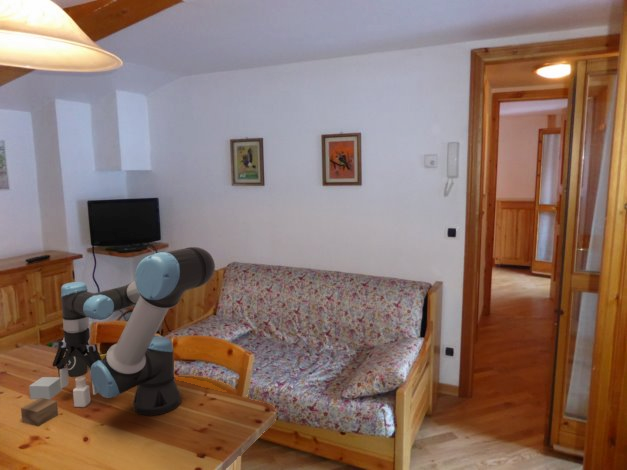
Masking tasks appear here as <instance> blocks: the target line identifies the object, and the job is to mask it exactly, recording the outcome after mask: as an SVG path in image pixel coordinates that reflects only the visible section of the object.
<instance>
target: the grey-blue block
mask: <svg viewBox="0 0 627 470" xmlns="http://www.w3.org/2000/svg"><path fill="white" fill-rule="evenodd" d="M28 390H29V399H30V400H37V399H39V398H45V399H49V400H52V399H53V398H54V397H55V396H57V395H58V394H59V393H60V392H62V391H63V388H61V386H60V377H59V376H58V377H55V376H54V377H53V376H42V377H40V378H38V379H37V380H36V381H35V382H32V383H31V384H30V385H29V387H28Z"/></svg>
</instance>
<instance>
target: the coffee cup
mask: <svg viewBox="0 0 627 470" xmlns="http://www.w3.org/2000/svg"><path fill="white" fill-rule="evenodd" d="M63 340H64V337H63ZM63 340H62V341H63ZM89 341H90V339H89V340H88V342H89ZM67 350H68V349H67V348H66V351H65V353H66V352H67ZM85 355H87V353H86V354H85ZM85 355H84V356H85ZM66 367H68V377H69V378H70V377H71V378H77V377H81V376H84V375H86V374H87V373H88V366H87V364H86V363H85V361H84V360H82V359H81V358H79V357H76V356H75V357H73V356H72V357H71V359H70V360H69V361H68V363H67V364H66Z"/></svg>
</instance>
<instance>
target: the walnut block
mask: <svg viewBox="0 0 627 470" xmlns="http://www.w3.org/2000/svg"><path fill="white" fill-rule="evenodd" d="M58 409H59V408H58V401H57V400H53V399H50V400H49V399H45V398H39V399H35V400H34V401H32V402H30V403H28V404H26V405H24V406H22V407H20V413H21V414H20V415H21V420H22V421H21V422H22V423H24V424H28V425H30V426H35V427H40V426H42V425H44V424H45V423H47V422H49V421H51V420H53V419H54V418H56V417H58V416H59V411H58Z"/></svg>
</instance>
